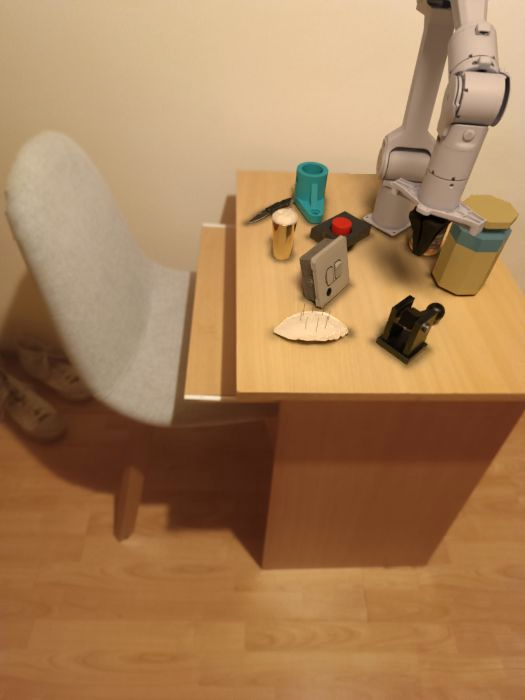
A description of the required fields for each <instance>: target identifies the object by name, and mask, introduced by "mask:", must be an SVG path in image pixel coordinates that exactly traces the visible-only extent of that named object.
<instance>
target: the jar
mask: <svg viewBox="0 0 525 700" xmlns="http://www.w3.org/2000/svg"><path fill="white" fill-rule="evenodd" d="M461 202H462V203H464V204H465V205H466V206H467V207H469V208H470V209H471V210H472V211H474V212H475V213H476V214H478V215H479V216H481V217H482V218H484V219H486V220H487V221H486V223H485V225H484V227H483V229H482V231H481V232H480V233H479V234H477V235H476V236H472V235H470V234H469V233H468V232H469V231H468V230H466V229H464V228H462V227H460V226H458V225H456V224H454V223H452V222H451V225H450V227H449V230H448V233H447V235H446V238H445V240H444V243H443V245H442V248H441V250H440V252H439V254H438V258H437V260H436V262H435V264H434V267H433V269H432V271H431V273H432V276H433V278H434V280H435V282H436V284H437V286H438V287H440V288H442V289H444V290H446V291H449V292H450V293H453V294H455V295H477V294H478V292H479V291H481V289H482V288H483V287H484V286H485V284H486V283H487V281H488V279H489V276H490V275H491V272H492V271H493V268H494V267H495V265H496V263H497V261H498V260H499V257H500V256H501V253H502V251H503V249H504V247H505V245H506V243H507V242H508V241H509V238H510V236H511V234H512V232H513V229H512V228H511V226H512V225H514V223H515V222H516V221H517V219H518V217H519V215H520V213H519V212H518V211H517V209H516V208H515V207H514V206H513V205H512V204H511V202H509V201H507V200H505V199H501V198H500V197H496V196H493V195H491V194H470V195H469V196H468V197H467V198H465V199H464V200H463V201H461Z"/></svg>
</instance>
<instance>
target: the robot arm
mask: <svg viewBox="0 0 525 700" xmlns="http://www.w3.org/2000/svg"><path fill="white" fill-rule="evenodd" d="M488 3H489V0H416V7H415V10H416V11H418V12H419V13H420V14H422V15H423V16H424V17H423V31H422V34H421V40H420V44H419V49H418V53H417V56H416V57H417V58H416V62H415V65H414V69H413V75H412V80H411V84H410V88H409V92H408V97H407V101H406V106H405V110H404V115H403V119H402V124H401V125H400V126H398V127H397V128H396V129H394V130H392V131H390V132H389V133H386V135H385V136H384V138H383V140H382V143H381V146H380V149H379V152H378V155H377V159H376V166H375V175H376V178H377V180H378V181H380V184H379V187H378V192H377V195H376V199H375V203H374V207H373V211H372V212H371V213H369V214H367V215H365V216H363V217H362V221H364V222H365V223H367V224H369V225H371V227H372V226H373V227H374V228H376V229H378V230H380V231H381V232H383V233H384V234H387V235H388V236H390V237H395V236H397V235H398V234H400V233H402V232H403V231H405V230H407V229H408V228H410V227H411V235H412V234H413V247H412V249H411V254H412V255H414V256H416V257H418V258H420V257H421V256H424V255H423V254H424V253H426V251H427V250H428V248H429V246H430V245H431V243H432V242H433V241H434V239H435V238H436V237H437V236H438V235H439V234H440V233H441V232H442V231H443V229H445V228H446V227H447V226H448V225H449V226H450V224H452V223H454V224H456V225H458V226H460V227H462V228H464V229H466V230H468V231H469V232H468V233H469V234H470V235H472V236H476V235H477V234H479V233H480V232H481V231H482V229H483V227H484V225H485V223H486V221H487V220H486V219H484V218H482V217H481V216H479V215H478V214H476V213H475V212H474V211H472V210H471V209H470V208H469V207H467V206H466V205H465V204H464V203H462V202H463V201H461V199H462V196H463V194H464V191H465V189H466V187H467V184H468V181H469V179H470V177H471V174H472V172H473V169H474V166H475V164H476V161H477V159H478V157H479V155H480V152H481V149H482V146H483V145H484V142H485V139H486V137H487V134H488V132H489V130H490V129H489V127H491V128H494V127H496V126H497V125H498V124H499V123H500V122H501V120H502V119H503V117H504V115H505V112H506V110H507V108H508V105H509V101H510V97H511V94H512V75H511V73H510V72H506V69H505V68H504V67H500V64H499V63H500V62H499V49H498V48H499V47H498V36H497V35H498V34H497V30H496V28H495V26H494V25H493V24H492V23H490V22H489V21H488V5H489V4H488ZM446 63H447V76H448V77H447V78H448V79H447V81H448V82H447V84H446V86H445V88H444V89H445V90H444V93H443V98H442V102H441V107H440V108H441V109H440V114H439V118H438V121H437V125H436V132H437V135H436V138H435V137H434V136H433V135H432V134H431V132H430V131H429V128H430V124H431V120H432V117H433V116H432V115H433V112H434V108H435V105H436V101H437V98H438V93H439V89H440V86H441V82H442V78H443V74H444V70H445V67H446ZM449 226H448V227H449Z"/></svg>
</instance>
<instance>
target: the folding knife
mask: <svg viewBox="0 0 525 700" xmlns="http://www.w3.org/2000/svg"><path fill="white" fill-rule="evenodd" d="M291 199H294V197H288V198H284V199H281V200H280V201H276V202H275V203H273V204H271V205H269V206H268V207H265V208H264V210H263V209H262V211H259V213H257V214H256V215H255V216H254V217H252V218H251V219H250V220H249V221H247V224H253V223H256V222H257V221H260V220H262V219H264V218H265V217H267V216H269V215H270V216H272V215H273V213H274V212H276V211H277V210H279V209H282V208H284V207H288V206H290V203H291ZM294 202H295V199H294V201H293V204H295V203H294Z"/></svg>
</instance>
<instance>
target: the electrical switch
mask: <svg viewBox="0 0 525 700" xmlns="http://www.w3.org/2000/svg"><path fill="white" fill-rule="evenodd" d="M298 261H299V266H300V273H301V279H302V287H303V294H304V298H305V299H307V300H309V301H312V302H314V303H315V307H316V308H322V309H323V308H325V306H327V304H328V303H329V302H330V301H332V299H334V298H335V297H336V296H337V295H338V294H339V293H340V292H341V291H343V290H344V289H345V288H346V287H347V286H348V285H349V282H350V271H349V270H350V268H349V257H348V248H347V242H346V237H344V236H341V235H340V236H339V237H338V238H336V239H327V238H324V239H323V240H322V241H321V242H319V243H318V242H317V244H316V245H314V246H313V247H312V248H310V249H309V250H308V251H306V252H305V253H304V254H303V255H301V256H300V257H299V260H298ZM314 298H315V300H314ZM324 303H325V305H324Z"/></svg>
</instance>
